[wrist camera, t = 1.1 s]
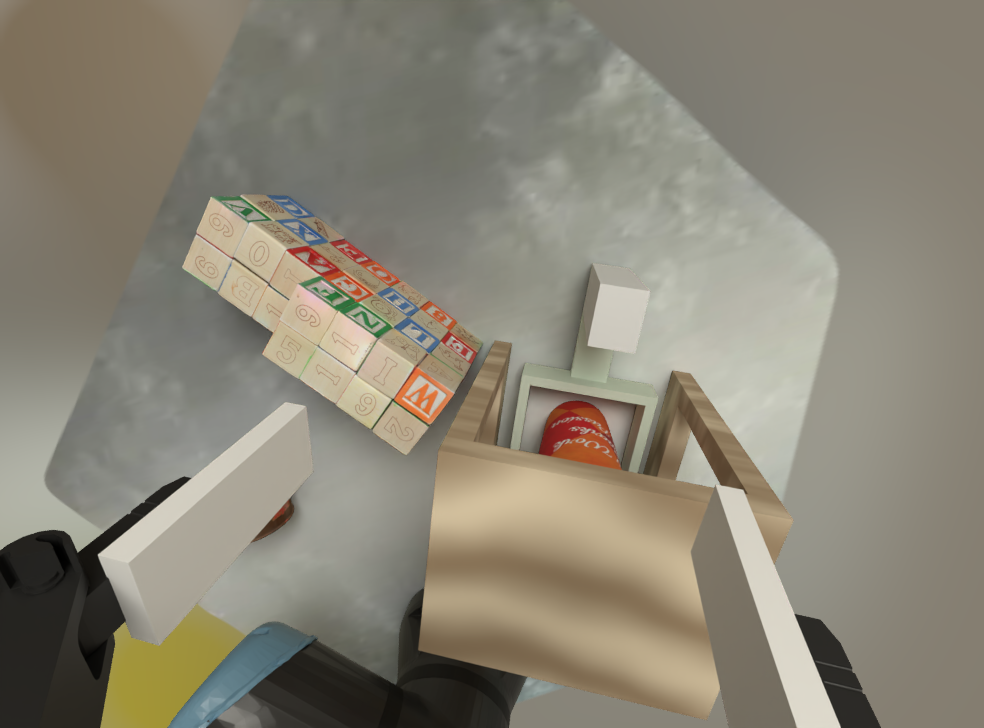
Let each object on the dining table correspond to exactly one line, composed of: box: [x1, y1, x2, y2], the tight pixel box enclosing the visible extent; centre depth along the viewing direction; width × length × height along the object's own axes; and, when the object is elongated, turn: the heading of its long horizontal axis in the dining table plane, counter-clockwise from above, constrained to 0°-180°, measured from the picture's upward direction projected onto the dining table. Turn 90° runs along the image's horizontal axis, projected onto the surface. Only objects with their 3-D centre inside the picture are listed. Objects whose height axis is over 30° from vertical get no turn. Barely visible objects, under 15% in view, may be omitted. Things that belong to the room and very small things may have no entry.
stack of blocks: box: [182, 195, 483, 455], centre depth 36 cm, size 21×6×12 cm, turn 54°
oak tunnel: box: [418, 341, 793, 720], centre depth 34 cm, size 14×17×20 cm
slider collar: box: [510, 263, 658, 473], centre depth 36 cm, size 21×11×10 cm, turn 173°
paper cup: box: [539, 401, 622, 470], centre depth 36 cm, size 8×8×14 cm
